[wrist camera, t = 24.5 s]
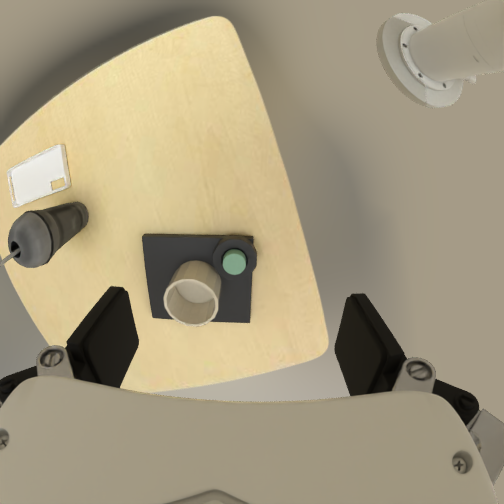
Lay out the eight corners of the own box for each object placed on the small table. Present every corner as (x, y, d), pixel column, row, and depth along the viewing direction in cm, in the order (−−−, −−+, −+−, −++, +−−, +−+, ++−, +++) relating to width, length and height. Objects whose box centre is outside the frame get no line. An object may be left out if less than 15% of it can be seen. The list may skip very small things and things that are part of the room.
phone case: (64, 142, 32) (10, 169, 33) (60, 143, 31) (6, 170, 31) (71, 186, 35) (17, 207, 35) (67, 188, 34) (13, 208, 34)
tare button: (246, 249, 37) (246, 253, 35) (245, 269, 38) (245, 275, 36) (223, 248, 37) (222, 253, 35) (223, 269, 38) (222, 274, 36)
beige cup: (221, 261, 39) (217, 280, 33) (221, 304, 41) (218, 327, 36) (172, 259, 39) (160, 277, 33) (175, 302, 41) (167, 324, 36)
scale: (256, 233, 39) (257, 240, 36) (252, 318, 44) (253, 329, 41) (144, 230, 38) (137, 237, 35) (154, 314, 43) (149, 324, 40)
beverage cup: (103, 213, 37) (16, 265, 18) (82, 245, 39) (5, 308, 20) (73, 183, 35) (-20, 217, 16) (55, 217, 37) (-29, 264, 18)
